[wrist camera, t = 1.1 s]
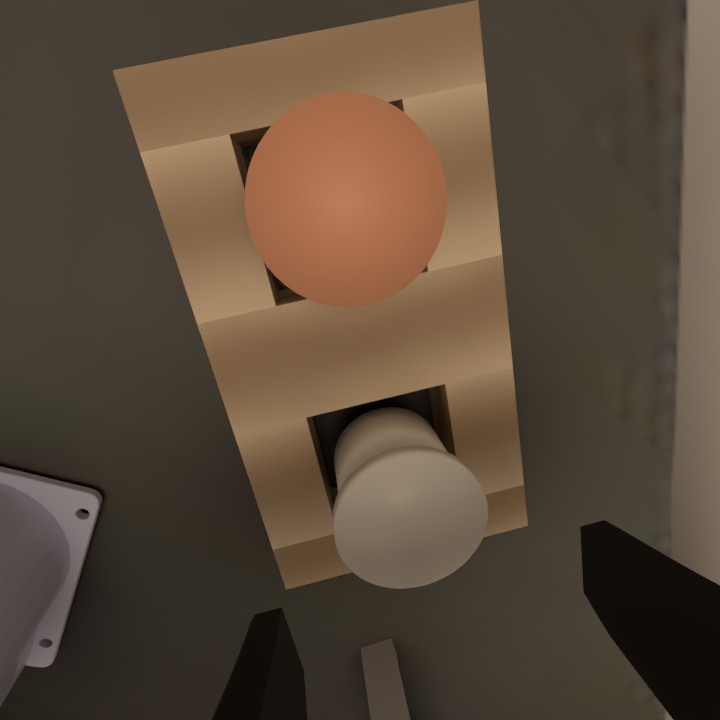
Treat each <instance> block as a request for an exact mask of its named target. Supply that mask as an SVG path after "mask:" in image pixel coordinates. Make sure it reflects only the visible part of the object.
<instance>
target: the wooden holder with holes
mask: <svg viewBox="0 0 720 720" xmlns="http://www.w3.org/2000/svg"><path fill="white" fill-rule="evenodd" d="M113 73H114V76H115V79H116V82H117V85H118V88H119V91H120V94H121V97H122V100H123V103H124V106H125V109H126V112H127V115H128V118H129V121H130V124H131V127H132V130H133V133H134V136H135V139H136V142H137V145H138V148H139V151H140V154H141V157H142V160H143V163H144V166H145V169H146V172H147V175H148V178H149V181H150V184H151V187H152V190H153V193H154V196H155V199H156V202H157V205H158V208H159V211H160V214H161V217H162V220H163V223H164V226H165V229H166V232H167V235H168V238H169V241H170V244H171V247H172V250H173V253H174V256H175V259H176V262H177V265H178V268H179V271H180V274H181V277H182V280H183V283H184V286H185V289H186V292H187V295H188V298H189V301H190V304H191V307H192V310H193V313H194V316H195V319H196V322H197V325H198V328H199V331H200V334H201V337H202V340H203V343H204V346H205V349H206V352H207V355H208V358H209V361H210V364H211V367H212V370H213V372H214V375H215V378H216V381H217V384H218V387H219V390H220V393H221V396H222V399H223V402H224V405H225V408H226V411H227V414H228V417H229V420H230V423H231V426H232V429H233V432H234V435H235V438H236V441H237V444H238V447H239V450H240V453H241V456H242V459H243V462H244V465H245V468H246V471H247V474H248V477H249V480H250V483H251V486H252V489H253V492H254V495H255V498H256V501H257V504H258V507H259V510H260V513H261V516H262V519H263V522H264V525H265V528H266V531H267V534H268V537H269V540H270V543H271V546H272V549H273V552H274V555H275V558H276V561H277V564H278V567H279V570H280V573H281V576H282V579H283V582H284V585H285V588H286V590H287V589H291V588H295V587H298V586H302V585H306V584H310V583H313V582H317V581H321V580H325V579H328V578H332V577H336V576H340V575H344V574H347V573H351V572H352V571H351V570H350V569H349V568H348V567H347V566H346V564H345V563H344V562H343V560H342V559H341V557H340V555H339V553H338V550H337V547H336V544H335V538H334V530H333V507H334V503H335V500H336V497H337V495H338V487H333V488H331V484H330V480H329V477H328V473H327V469H326V465H325V461H324V458H323V454H322V450H321V446H320V442H319V439H318V435H317V431H316V427H315V424H314V420H313V416H315V415H319V414H323V413H328V412H332V411H336V410H340V409H344V408H348V407H352V406H356V405H360V404H365V403H369V402H373V401H377V400H381V399H385V398H389V397H393V396H398V395H402V394H406V393H410V392H414V391H418V390H422V389H426V388H428V392H429V398H430V404H431V410H432V416H433V422H434V428H435V433H436V434H437V436H438V438H439V439H440V441H441V442H442V444H443V446H444V447H445V449H446V451H447V452H448V453H450V454H452V455H454V456H455V457H457V458H458V459H460V460H461V461H462V462H463V463H464V464H465V465H466V466H467V467H468V468H469V469H470V471H471V472H472V473H473V475H474V476H475V478H476V479H477V481H478V482H479V484H480V486H481V487H482V489H483V491H484V494H485V496H486V500H487V505H488V522H487V527H486V531H485V534H484V536H483V537H487V536H491V535H494V534H498V533H502V532H506V531H509V530H513V529H517V528H521V527H525V526H528V522H527V511H526V501H525V490H524V480H523V469H522V458H521V448H520V437H519V427H518V416H517V406H516V395H515V385H514V374H513V364H512V353H511V343H510V332H509V322H508V311H507V300H506V290H505V279H504V269H503V258H502V248H501V237H500V227H499V216H498V206H497V195H496V185H495V174H494V164H493V153H492V142H491V132H490V121H489V111H488V100H487V90H486V79H485V69H484V58H483V48H482V37H481V27H480V16H479V6H478V0H476V1H471V2H466V3H461V4H455V5H450V6H445V7H440V8H435V9H429V10H424V11H419V12H414V13H409V14H403V15H398V16H393V17H388V18H383V19H377V20H372V21H367V22H362V23H357V24H351V25H346V26H341V27H336V28H330V29H325V30H320V31H315V32H310V33H304V34H299V35H294V36H289V37H284V38H278V39H273V40H268V41H263V42H258V43H252V44H247V45H242V46H237V47H232V48H226V49H221V50H216V51H211V52H206V53H200V54H195V55H190V56H185V57H179V58H174V59H169V60H164V61H159V62H153V63H148V64H143V65H138V66H133V67H127V68H122V69H117V70H113ZM337 92H354V93H360V94H366V95H370V96H373V97H376V98H379V99H382V100H384V101H386V102H388V103H390V104H392V105H394V106H396V107H397V108H398V109H400V110H401V111H403V112H404V113H406V114H407V115H408V116H409V117H410V118H411V119H412V120H413V121H415V122H416V123H417V124H418V126H419V127H420V128H421V129H422V130H423V132H424V133H425V134H426V136H427V137H428V139H429V140H430V142H431V143H432V145H433V147H434V149H435V151H436V153H437V155H438V157H439V160H440V163H441V166H442V169H443V172H444V177H445V182H446V190H447V213H446V219H445V225H444V229H443V232H442V236H441V239H440V242H439V244H438V246H437V248H436V251H435V253H434V254H433V256H432V258H431V259H430V261H429V263H428V264H427V266H426V267H425V268H424V269H423V271H422V272H421V273H420V274H419V275H418V276H417V277H416V278H415V279H414V280H413V281H412V282H411V283H410V284H409V285H408V286H406V287H405V288H404V289H403V290H401V291H399V292H398V293H396V294H394V295H393V296H391V297H389V298H387V299H384V300H382V301H380V302H376V303H373V304H370V305H365V306H359V307H335V306H329V305H324V304H320V303H317V302H314V301H312V300H309V299H307V298H305V297H303V296H301V295H299V294H297V293H295V292H294V291H293V290H291V289H290V288H288V289H283V290H279V287H278V284H277V280H276V276H275V275H274V274H273V273H272V272H271V271H270V269H269V268H268V267H267V266H266V264H265V263H264V261H263V260H262V258H261V257H260V255H259V253H258V251H257V249H256V247H255V245H254V243H253V240H252V237H251V234H250V232H249V228H248V224H247V219H246V213H245V184H246V179H247V173H248V170H247V166H246V163H245V159H244V155H243V151H242V148H244V147H249V146H253V145H258V144H259V143H260V141H261V140H262V138H263V136H264V135H265V133H266V132H267V131H268V130H269V128H270V127H271V126H272V125H273V124H274V123H275V121H276V120H278V119H279V118H280V117H281V116H282V115H283V114H285V113H286V112H287V111H288V110H290V109H291V108H293V107H295V106H296V105H298V104H299V103H302V102H304V101H306V100H308V99H311V98H313V97H317V96H320V95H324V94H329V93H337Z"/></svg>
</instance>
